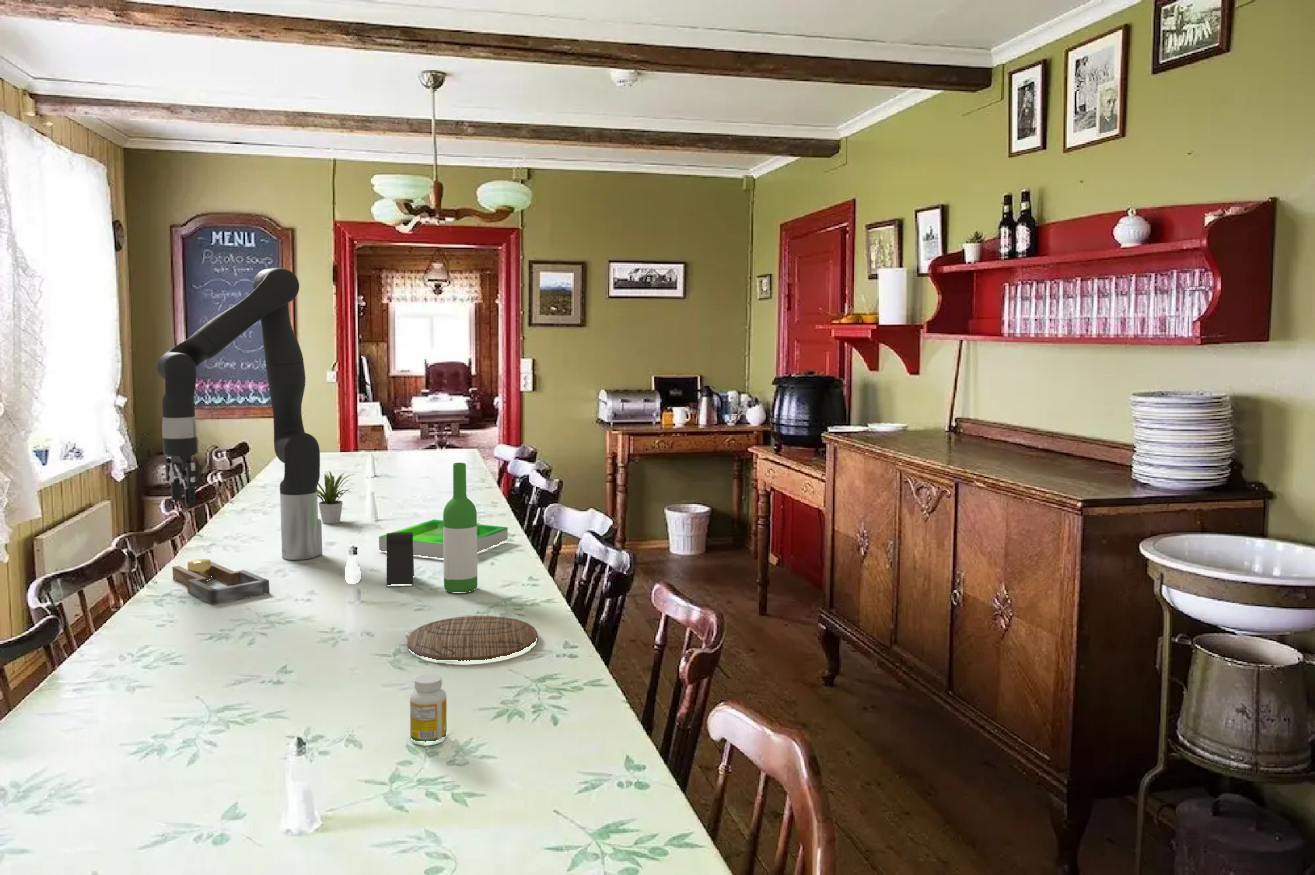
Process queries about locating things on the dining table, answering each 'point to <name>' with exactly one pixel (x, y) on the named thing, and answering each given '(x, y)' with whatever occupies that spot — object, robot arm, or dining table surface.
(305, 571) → the dining table surface
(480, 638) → the trivet
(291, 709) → the dining table surface
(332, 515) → the house plant
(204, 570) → the tan rounded block
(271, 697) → the dining table surface
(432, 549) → the tray
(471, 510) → the wine bottle
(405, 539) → the door stopper
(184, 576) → the chute
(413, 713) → the supplement bottle
